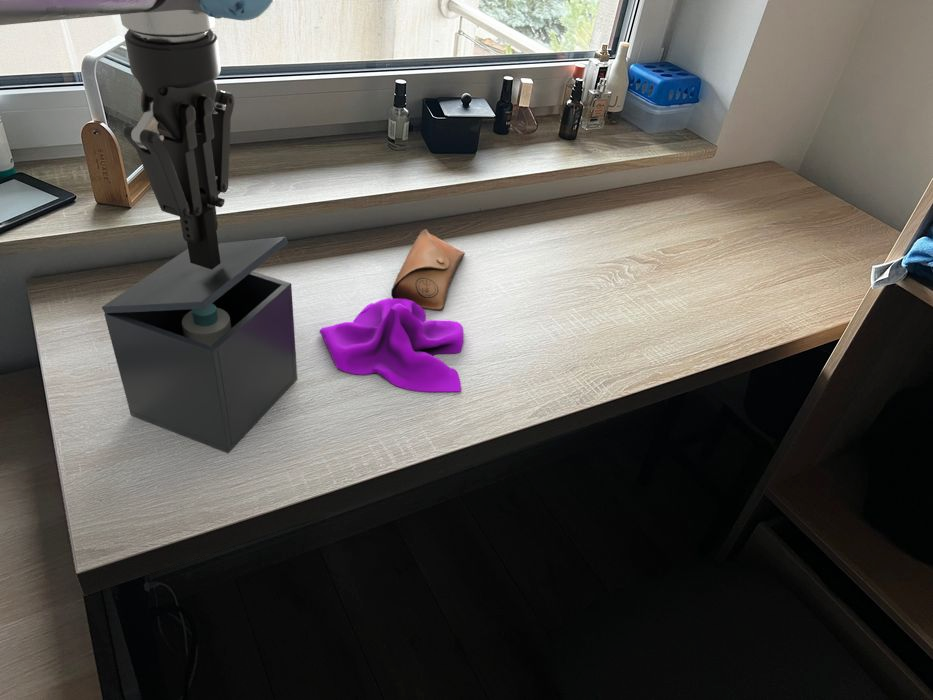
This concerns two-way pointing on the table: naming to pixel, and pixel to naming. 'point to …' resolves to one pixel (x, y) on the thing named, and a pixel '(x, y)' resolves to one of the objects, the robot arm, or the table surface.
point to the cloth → (397, 346)
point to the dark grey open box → (209, 363)
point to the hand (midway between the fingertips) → (205, 262)
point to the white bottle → (206, 324)
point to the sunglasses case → (427, 272)
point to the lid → (195, 279)
